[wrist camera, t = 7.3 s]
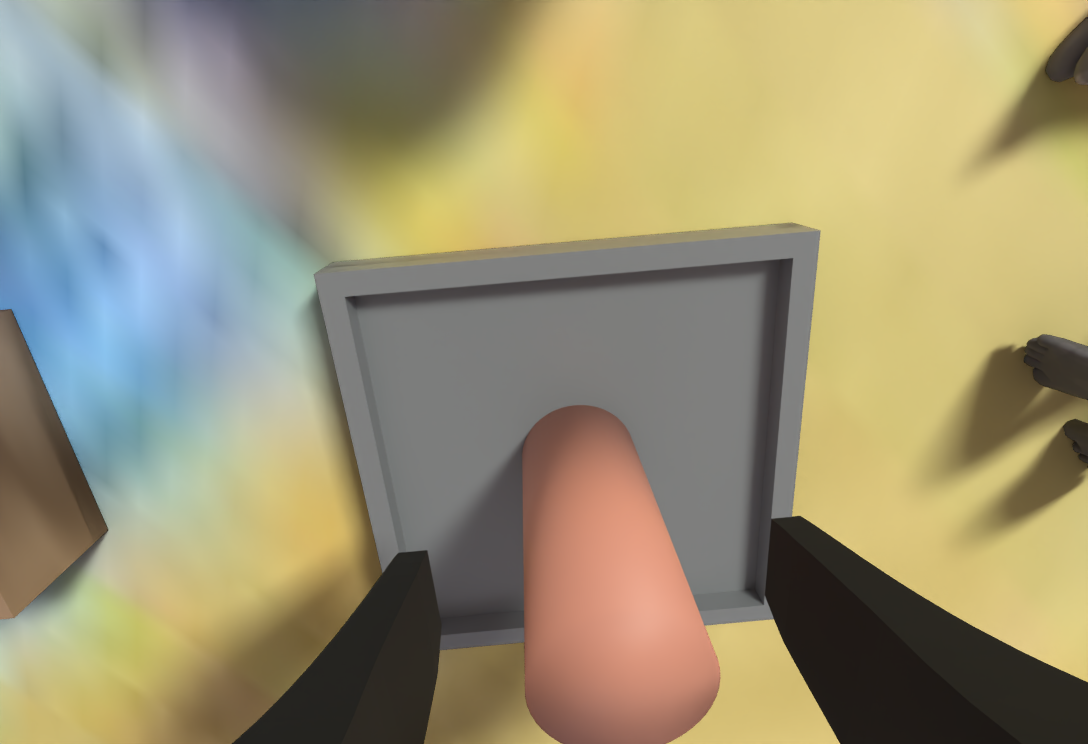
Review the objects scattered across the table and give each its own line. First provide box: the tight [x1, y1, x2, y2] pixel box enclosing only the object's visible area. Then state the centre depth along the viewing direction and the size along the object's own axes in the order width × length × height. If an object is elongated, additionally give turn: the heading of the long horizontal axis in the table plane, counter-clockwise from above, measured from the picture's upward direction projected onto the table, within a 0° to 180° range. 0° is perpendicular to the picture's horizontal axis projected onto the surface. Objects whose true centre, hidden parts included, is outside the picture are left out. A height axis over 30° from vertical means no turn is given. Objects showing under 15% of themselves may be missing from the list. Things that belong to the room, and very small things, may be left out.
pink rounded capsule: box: [522, 405, 720, 744], centre depth 13 cm, size 3×3×8 cm
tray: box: [314, 223, 820, 650], centre depth 16 cm, size 12×12×2 cm
